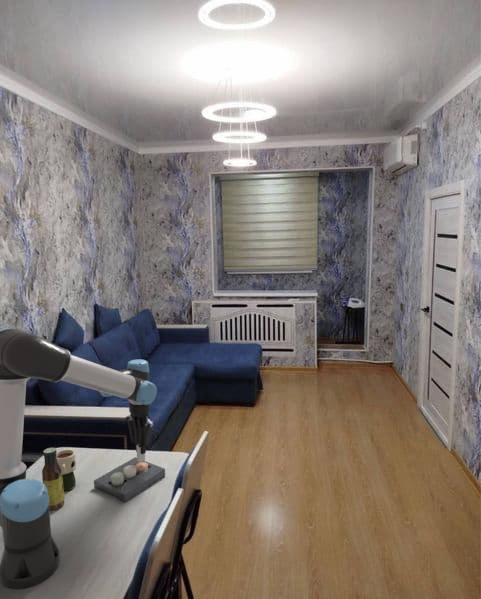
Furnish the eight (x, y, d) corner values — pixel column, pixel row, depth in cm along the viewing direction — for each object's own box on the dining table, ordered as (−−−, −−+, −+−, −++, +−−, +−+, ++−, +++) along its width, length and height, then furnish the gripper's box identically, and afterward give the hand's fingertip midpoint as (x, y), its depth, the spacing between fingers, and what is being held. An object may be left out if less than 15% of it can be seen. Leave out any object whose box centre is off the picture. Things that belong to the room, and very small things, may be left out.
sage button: (117, 489, 157) (116, 480, 157) (108, 485, 160) (108, 476, 159) (126, 483, 161) (126, 474, 160) (118, 480, 163) (117, 471, 163)
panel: (124, 502, 153) (124, 494, 152) (94, 488, 162) (93, 480, 161) (165, 476, 169) (164, 468, 169) (135, 464, 178) (135, 457, 178)
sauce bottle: (68, 505, 152) (64, 450, 149) (49, 513, 147) (45, 457, 144) (59, 497, 156) (55, 444, 153) (41, 505, 152) (36, 450, 149)
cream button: (130, 481, 162) (129, 472, 162) (121, 478, 165) (121, 469, 164) (138, 476, 166) (138, 467, 165) (130, 472, 168) (130, 463, 168)
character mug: (75, 493, 158) (73, 459, 156) (54, 497, 156) (51, 462, 154) (78, 477, 169) (76, 445, 167) (58, 480, 167) (55, 448, 165)
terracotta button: (142, 477, 167) (141, 469, 167) (134, 474, 170) (133, 465, 169) (150, 472, 171) (150, 464, 170) (142, 469, 173) (142, 460, 173)
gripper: (159, 401, 166) (160, 461, 169) (134, 394, 173) (136, 452, 176) (144, 408, 159) (146, 470, 163) (119, 400, 166) (121, 460, 170)
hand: (141, 460), depth 169 cm, fingers closed
